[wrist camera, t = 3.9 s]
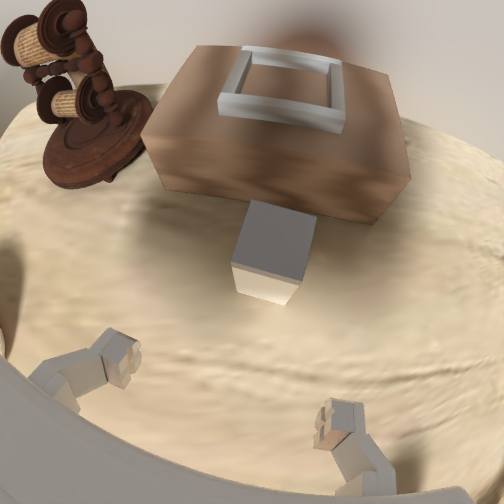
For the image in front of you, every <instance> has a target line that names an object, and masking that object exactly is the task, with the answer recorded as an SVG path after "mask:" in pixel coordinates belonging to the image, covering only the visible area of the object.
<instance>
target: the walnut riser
mask: <svg viewBox="0 0 504 504" xmlns="http://www.w3.org/2000/svg"><path fill="white" fill-rule="evenodd" d="M140 136H141V138H142V140H143V142H144V145H145V147H146V149H147V151H148V153H149V156H150V158H151V160H152V162H153V164H154V167H155V169H156V171H157V173H158V175H159V177H160V179H161V182H162V184H163V186H164V188H165V190H171V191H178V192H186V193H194V194H201V195H208V196H215V197H222V198H229V199H235V200H241V201H248V202H251V199H253V200H257V201H261V202H264V203H268V204H272V205H276V206H279V207H283V208H289V209H294V210H300V211H305V212H310V213H316V214H321V215H326V216H331V217H336V218H341V219H346V220H350V221H355V222H360V223H364V224H369V225H373V224H374V223H375V222H376V220H377V219H378V218H379V217H380V216H381V215H382V213H383V212H384V211H385V210H386V209H387V207H388V206H389V205H390V204H391V203H392V202H393V200H394V199H395V198H396V197H397V195H398V194H399V193H400V192H401V191H402V189H403V188H404V187H405V186H406V184H407V183H408V182H409V181H410V179H411V175H410V169H409V163H408V157H407V151H406V146H405V141H404V136H403V131H402V127H401V122H400V118H399V114H398V110H397V106H396V102H395V98H394V95H393V91H392V88H391V85H390V81H389V78H388V75H386V74H383V73H380V72H377V71H374V70H370V69H367V68H364V67H360V66H356V65H352V64H349V63H345V62H341V60H338V59H333V58H329V57H324V56H319V55H314V54H309V53H303V52H296V51H290V50H283V49H275V48H266V47H256V46H243V47H239V46H197V47H196V48H195V49H194V51H193V52H192V53H191V55H190V56H189V57H188V59H187V60H186V62H185V63H184V64H183V66H182V67H181V69H180V70H179V72H178V73H177V75H176V76H175V78H174V79H173V81H172V82H171V84H170V85H169V87H168V88H167V90H166V91H165V93H164V95H163V96H162V98H161V99H160V101H159V103H158V104H157V106H156V108H155V109H154V111H153V113H152V114H151V116H150V118H149V120H148V121H147V123H146V125H145V127H144V129H143V130H142V132H141V134H140Z"/></svg>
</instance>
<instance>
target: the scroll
mask: <svg viewBox="0 0 504 504" xmlns="http://www.w3.org/2000/svg"><path fill="white" fill-rule="evenodd" d="M86 25H87V12H86V8H85V6H84V4H83V2H82V1H81V0H52V1H51V2H50V3H49V4H48V5H47V6H46V7H45V8H44V10H43V11H42V13H41V15H40V17H39V18H38V17H36V16H34V15H24V16H21V17H19V18H17V19H15V20H14V21H13V22H12V23H11V24H10V25H9V26H8V27H7V29H6V30H5V32H4V34H3V36H2V40H1V46H0V47H1V54H2V57H3V59H4V60H5V61H6V62H7V63H8V64H9V65H11V66H21V68H22V69H25V72H24V74H23V77H24V80H25V81H26V82H27V83H29V84H32V86H34V85H35V86H36V91H37V95H38V97H37V112H38V115H39V117H40V118H41V120H42V121H43V122H45V123H47V124H59V125H58V126H57V128H56V129H55V131H54V132H53V134H52V135H51V137H50V139H49V141H48V143H47V145H46V148H45V151H44V156H43V168H44V171H45V173H46V175H47V177H48V178H49V179H50V180H51V181H52V182H53V183H54V184H55V185H57V186H59V187H61V188H64V189H80V188H84V187H88V186H91V185H94V184H96V183H98V182H100V181H102V180H104V181H106V182H108V183H110V182H112V180H113V178H112V175H113V174H114V173H116V172H117V171H118V170H120V169H121V168H122V167H124V166H125V165H126V164H127V163H128V162H129V161H130V160H131V159H132V158H133V157H134V156H135V155H136V154H137V153H138V152H139V151H140V149H141V148H142V147H143V145H144V142H143V140H142V138H141V136H140V134H141V132H142V130H143V129H144V127H145V125H146V123H147V121H148V120H149V118H150V116H151V114H152V113H153V109H152V107H151V104H150V102H149V100H148V99H147V98H146V97H145V96H144V95H143V94H141V93H139V92H136V91H131V90H118V91H114V88H113V83H112V80H111V78H110V76H109V74H108V71H107V70H106V67H105V65H104V63H103V55H102V53H101V52H99V51H98V50H97V49H96V47H95V45H94V43H93V42H92V40H91V38H90V36H89V35H88V33H87V31H86V30H87V27H86ZM53 60H57V61H55V62H53V63H51V64H49V65H42V66H40V65H39V64H42V63H46V62H50V61H53ZM66 72H67V73H68V74H69V76H70V77H71V79H72V81H73V82H74V85H75V87H76V90H73V89H72V85H71V83H70V82H69V80H68V79H67V78H65V77H63V76H58V75H61V74H62V73H63V74H64V73H66ZM47 75H50V76H52V75H54V76H55V77H52V78H50V79H49V80H47V81H46V82H45V83H44V82H42V81H41V80H42V78H43V77H46V76H47Z"/></svg>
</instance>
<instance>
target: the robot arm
mask: <svg viewBox="0 0 504 504" xmlns="http://www.w3.org/2000/svg"><path fill="white" fill-rule="evenodd" d="M140 347H141V345H140V341H138V340H136V339H134V338H132V337H129V336H127V335H125V334H123V333H121V332H119V331H117V330H115V329H113V328H111V327H110V328H108V329H106V331H105V332H104V333H103V334H102V335H101V336H100V337H99V338H98V339H97V340H96V341H95V343H94V344H93V345H92V346H91V347H90V348H89V349H87V348H84V349H81V350H78V351H75V352H71V353H68V354H65V355H61V356H58V357H55V358H51V359H48V360H44V361H43V362H42V363H41V364H40V365H39V366H38V367H37V368H36V369H35V370H34V372H33V373H32V374H31V375H30V376H29V377H28V378H27V377H26V376H24V375H23V374H22V373H21V372H20V371H19V370H17V369H16V368H15V367H14V366H13V365H12V364H11V363H9V362H8V361H7V360H6V359H5V358H4V357H3V356H2V355H1V354H0V504H476V503H475V501H474V500H473V498H472V497H471V496H470V495H469V494H468V493H467V491H466V490H465V489H463V488H462V487H461V486H452V487H447V488H442V489H437V490H431V491H424V492H417V493H409V494H399V495H397V487H396V470H395V469H394V468H393V466H392V465H391V464H390V462H389V461H388V460H387V458H386V457H385V455H384V454H383V453H382V451H381V450H380V449H379V447H378V446H377V445H376V443H375V442H374V441H373V439H372V438H371V436H370V435H369V434H366V427H365V414H364V405H363V403H360V402H353V401H348V400H341V399H335V398H329V399H327V401H326V402H325V407H322V408H321V409H320V411H319V412H318V415H317V417H316V422H315V428H316V430H317V431H318V432H317V433H316V434H315V435H314V446H313V448H314V449H320V450H327V451H332V452H331V453H332V455H333V457H334V459H335V461H336V463H337V465H338V467H339V469H340V470H341V472H342V474H343V476H344V478H345V480H346V482H347V483H346V484H345V485H343V486H341V487H340V488H338V489H337V490H336V491H335V496H328V495H314V494H304V493H295V492H288V491H281V490H275V489H269V488H264V487H258V486H254V485H249V484H244V483H240V482H236V481H232V480H228V479H224V478H221V477H217V476H214V475H210V474H207V473H204V472H201V471H197V470H194V469H191V468H189V467H186V466H183V465H180V464H177V463H175V462H172V461H169V460H167V459H164V458H162V457H160V456H157V455H155V454H152V453H150V452H148V451H145V450H143V449H141V448H139V447H137V446H135V445H132V444H130V443H128V442H126V441H124V440H122V439H120V438H118V437H116V436H115V435H113V434H111V433H109V432H107V431H105V430H103V429H102V428H100V427H98V426H96V425H95V424H93V423H91V422H90V421H88V420H86V419H85V418H83V417H81V416H80V415H78V413H79V411H80V406H79V404H78V402H77V400H76V398H78V397H80V396H82V395H84V394H86V393H88V392H90V391H92V390H94V389H97V388H99V387H101V386H103V385H105V384H107V383H108V382H109V383H111V384H113V385H115V386H117V387H119V388H121V389H123V390H124V389H125V387H126V386H127V385H128V383H129V382H130V380H131V377H130V374H133V373H136V371H137V370H138V368H139V366H140V363H141V358H142V357H141V353H140V351H139V348H140Z"/></svg>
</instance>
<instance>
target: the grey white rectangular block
mask: <svg viewBox="0 0 504 504" xmlns="http://www.w3.org/2000/svg"><path fill="white" fill-rule="evenodd" d="M316 220H317V217H315V216H312V215H308V214H305V213H301V212H298V211H294V210H290V209H287V208H283V207H279V206H276V205H272V204H268V203H264V202H261V201H257V200H253V199H251V202H250V205H249V208H248V211H247V214H246V216H245V219H244V222H243V225H242V228H241V231H240V234H239V237H238V240H237V243H236V246H235V249H234V252H233V255H232V258H231V260H230V262H231V267H232V271H233V276H234V280H235V285H236V289H237V292H239V293H243V294H246V295H250V296H253V297H257V298H260V299H264V300H267V301H271V302H274V303H278V304H281V305H285V304H286V303H287V302H288V300H289V299H290V298H291V296H292V295H293V294H294V292H295V291H296V290H297V288H298V287H299V285H300V284H301V283H302V281H303V277H304V272H305V268H306V264H307V260H308V256H309V252H310V247H311V243H312V239H313V234H314V230H315V225H316Z"/></svg>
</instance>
